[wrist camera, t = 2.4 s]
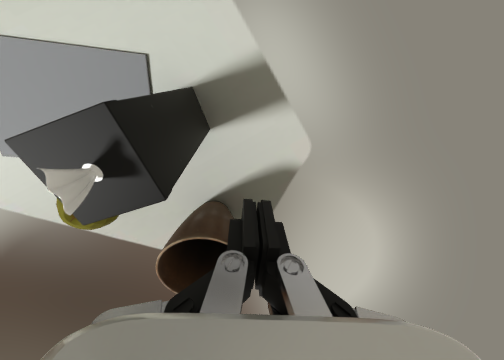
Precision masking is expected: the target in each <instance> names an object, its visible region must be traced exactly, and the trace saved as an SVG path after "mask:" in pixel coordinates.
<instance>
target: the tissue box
mask: <svg viewBox="0 0 504 360" xmlns="http://www.w3.org/2000/svg"><path fill="white" fill-rule="evenodd" d="M209 130H210V128H209V126H208V123H207V121H206V119H205V116H204V114H203V111H202V109H201V107H200V104H199V102H198V100H197V97H196V95H195V93H194V90H193V88H192V87H189V88H183V89H178V90H172V91H167V92H161V93H156V94H150V95H145V96H139V97H134V98H128V99H122V100H110V101H104V102H101V103H99V104H96V105H94V106H91V107H88V108H86V109H83V110H81V111H78V112H75V113H73V114H70V115H68V116H65V117H62V118H60V119H57V120H55V121H52V122H49V123H47V124H44V125H42V126H39V127H36V128H34V129H31V130H29V131H26V132H23V133H21V134H18V135H16V136H13V137H10V138H8V139H5V143H6V144H7V145H8V146H9V147H10V148H11V149H12V150H13V151H14V152H15V153H16V154H17V155H18V157H19V158H20V159H21V160H22V161H23V162H24V163H25V164H26V165H27V166H28V167H29V168H30V169H31V170H32V172H33V173H34V174H35V175H36V176H37V177H38V178H39V179H40V180H41V181H42V182H43V183H44V184H45V185H46V186H47V189H48V190H49V191H50V192H51V193H53V194H54V195H55V196H56V197H57V198H58V199H59V200H60V201H61V203H62V204H63V208H64V211H65V213H66V214H68V215H71V214H73V215H74V216H75V218H76V219H77V220H78V221H79V222H80V223H81V224H82V225H84V226H85V225H88V224H91V223H94V222H98V221H101V220H104V219H107V218H110V217H114V216H117V215H120V214H123V213H126V212H130V211H133V210H136V209H139V208H143V207H146V206H149V205H152V204H155V203H159V202H162V201H165V200H166V199H167V198H168V196H169V195H170V193H171V191H172V188H173V186H174V185H175V183H176V182H177V180H178V179H179V177H180V175H181V174H182V172H183V171H184V169H185V168H186V166H187V165H188V163H189V161H190V160H191V158H192V157H193V155H194V154H195V152H196V150H197V149H198V147H199V146H200V144H201V143H202V141H203V140H204V138H205V136H206V135H207V133H208V132H209Z"/></svg>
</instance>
